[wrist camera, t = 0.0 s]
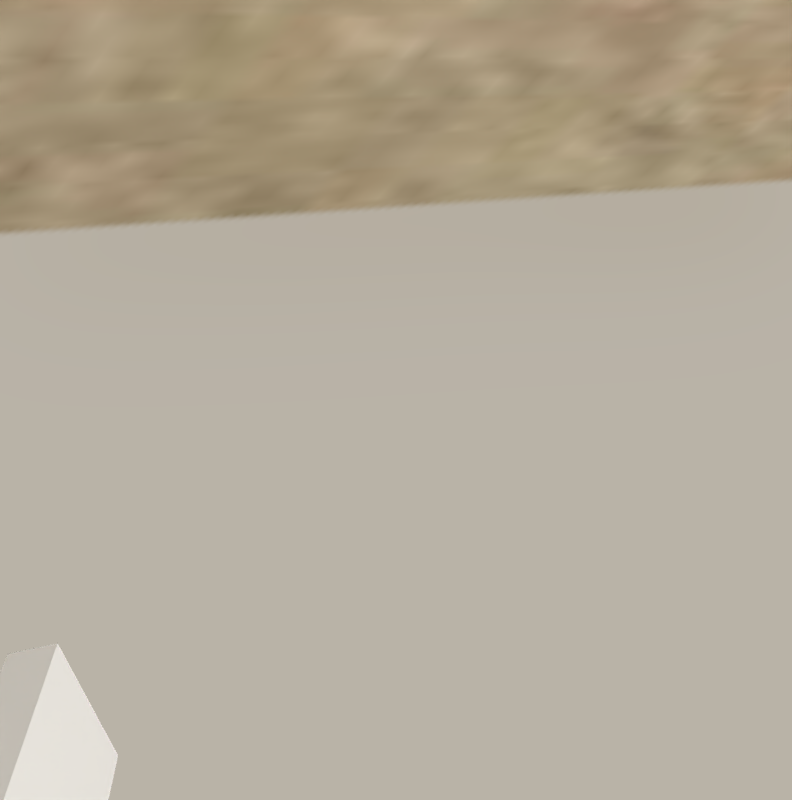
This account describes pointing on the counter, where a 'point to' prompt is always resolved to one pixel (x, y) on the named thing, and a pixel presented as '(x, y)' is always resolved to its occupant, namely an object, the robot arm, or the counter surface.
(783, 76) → the counter surface
